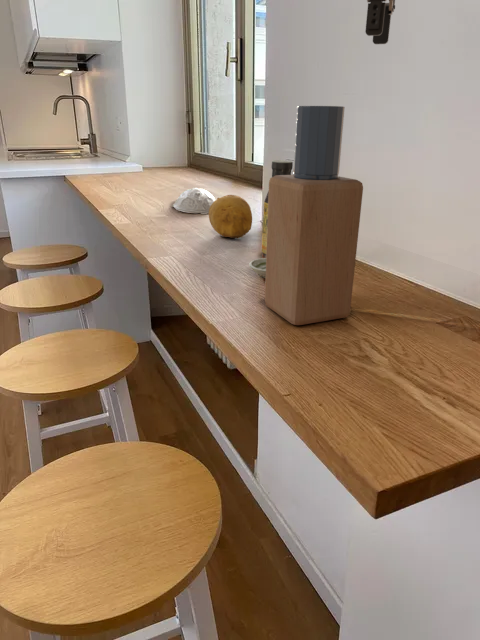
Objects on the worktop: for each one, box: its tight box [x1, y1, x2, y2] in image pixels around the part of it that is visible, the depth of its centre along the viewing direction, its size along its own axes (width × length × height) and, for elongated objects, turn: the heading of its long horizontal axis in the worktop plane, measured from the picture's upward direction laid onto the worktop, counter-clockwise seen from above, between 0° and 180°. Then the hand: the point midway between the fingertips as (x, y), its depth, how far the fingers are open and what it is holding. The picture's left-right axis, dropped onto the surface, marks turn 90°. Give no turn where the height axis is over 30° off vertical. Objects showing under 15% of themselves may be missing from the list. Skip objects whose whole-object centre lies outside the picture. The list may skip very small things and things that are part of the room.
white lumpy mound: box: [172, 187, 217, 215], centre depth 161 cm, size 16×25×7 cm, turn 7°
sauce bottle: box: [261, 159, 294, 258], centre depth 100 cm, size 7×6×20 cm
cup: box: [292, 105, 345, 180], centre depth 66 cm, size 6×6×9 cm
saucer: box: [248, 257, 266, 279], centre depth 93 cm, size 10×10×2 cm
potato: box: [208, 194, 253, 240], centre depth 122 cm, size 10×12×10 cm
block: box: [264, 174, 364, 326], centre depth 72 cm, size 10×10×20 cm
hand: (377, 39), depth 71 cm, fingers open, 8 cm apart
